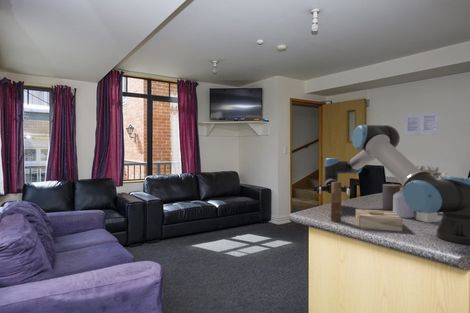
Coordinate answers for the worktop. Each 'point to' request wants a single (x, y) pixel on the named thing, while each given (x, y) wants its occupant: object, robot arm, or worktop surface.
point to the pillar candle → (389, 195)
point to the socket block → (378, 220)
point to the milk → (427, 216)
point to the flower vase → (433, 172)
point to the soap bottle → (401, 205)
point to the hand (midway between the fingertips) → (334, 191)
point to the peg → (336, 201)
